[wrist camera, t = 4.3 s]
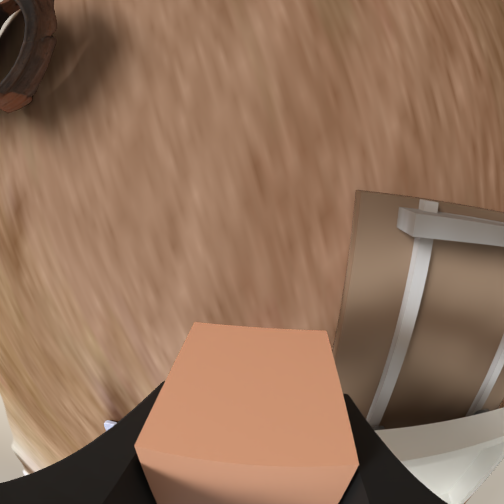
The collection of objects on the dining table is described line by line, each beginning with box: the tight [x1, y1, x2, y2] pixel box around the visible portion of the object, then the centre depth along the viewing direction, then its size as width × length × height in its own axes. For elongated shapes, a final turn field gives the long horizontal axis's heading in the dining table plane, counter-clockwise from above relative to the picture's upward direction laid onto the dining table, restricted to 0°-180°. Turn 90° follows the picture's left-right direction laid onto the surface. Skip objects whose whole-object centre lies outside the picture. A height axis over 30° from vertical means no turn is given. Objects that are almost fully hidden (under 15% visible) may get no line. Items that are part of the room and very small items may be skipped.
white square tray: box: [372, 407, 504, 504], centre depth 15 cm, size 11×12×4 cm
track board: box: [332, 190, 504, 429], centre depth 17 cm, size 30×16×3 cm, turn 177°
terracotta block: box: [134, 322, 359, 504], centre depth 7 cm, size 4×4×5 cm
